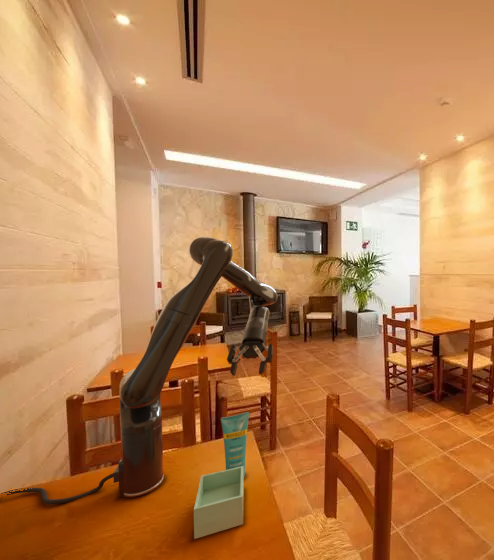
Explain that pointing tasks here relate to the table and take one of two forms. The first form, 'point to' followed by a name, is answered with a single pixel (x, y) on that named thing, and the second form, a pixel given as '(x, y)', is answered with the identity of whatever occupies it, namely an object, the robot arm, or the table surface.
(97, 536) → the table surface
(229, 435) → the tube
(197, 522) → the open pale green box
